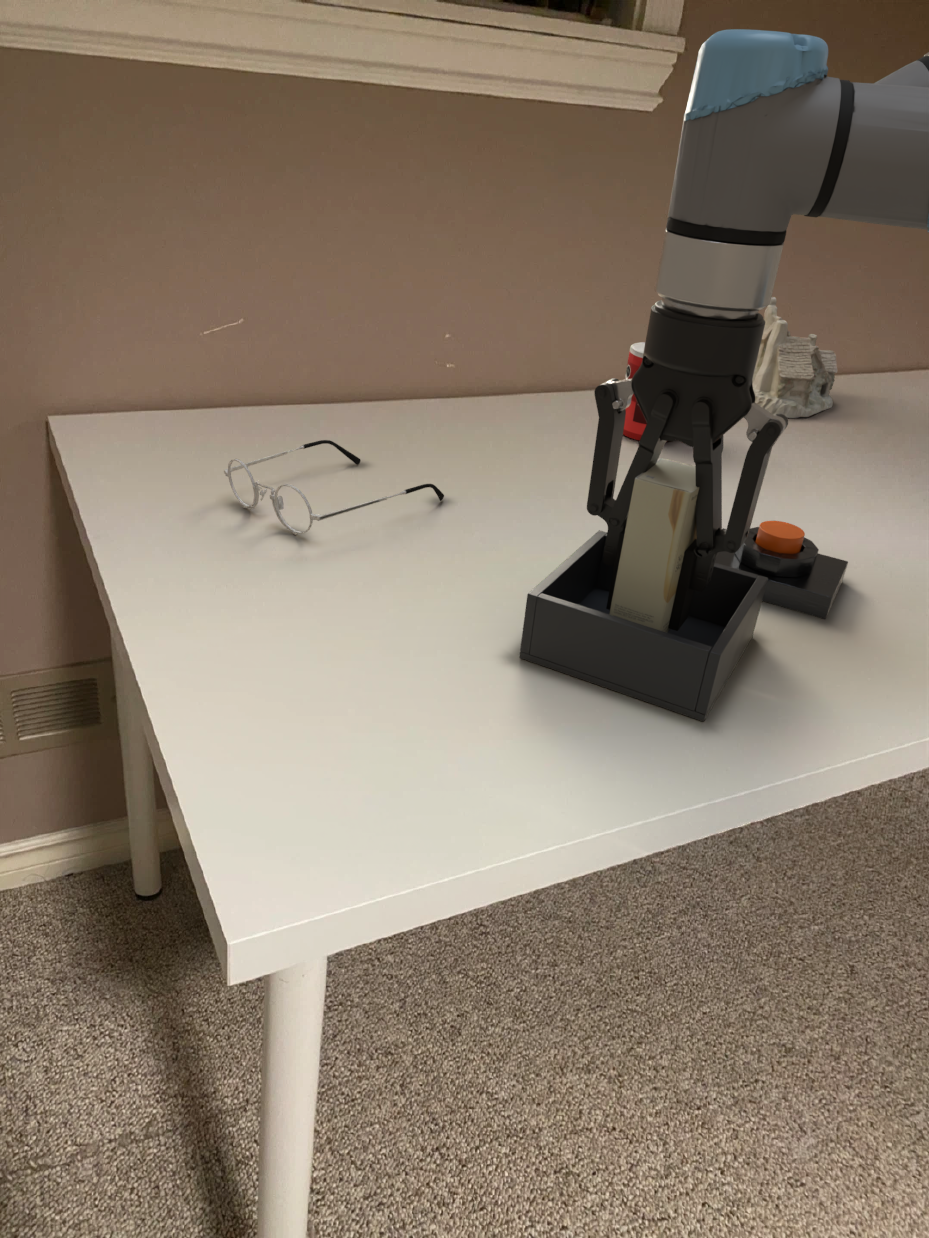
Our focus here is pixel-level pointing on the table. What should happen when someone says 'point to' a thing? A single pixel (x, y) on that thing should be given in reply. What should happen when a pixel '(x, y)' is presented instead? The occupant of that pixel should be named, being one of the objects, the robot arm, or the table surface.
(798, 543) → the button
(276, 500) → the eyeglasses
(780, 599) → the control block
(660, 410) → the robot arm
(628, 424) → the canned food
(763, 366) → the ceramic cottage
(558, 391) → the table surface
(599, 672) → the bin
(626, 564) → the cosmetic box
